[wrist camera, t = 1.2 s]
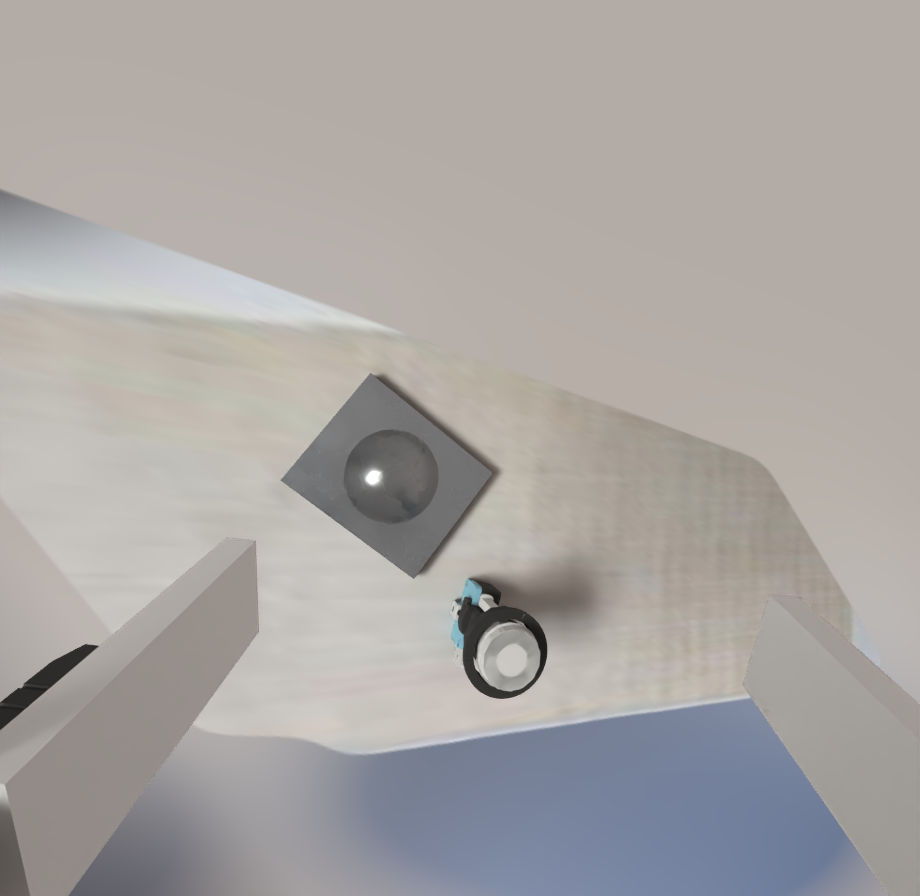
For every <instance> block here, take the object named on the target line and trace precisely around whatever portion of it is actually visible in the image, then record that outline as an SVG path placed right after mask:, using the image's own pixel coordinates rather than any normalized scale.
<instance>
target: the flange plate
mask: <svg viewBox="0 0 920 896" xmlns="http://www.w3.org/2000/svg"><path fill="white" fill-rule="evenodd" d="M491 475H492V472H491V471H490V470H489V469H487V468H486V467H485V466H484V465H483V464H481V463H480V462H479V461H478V460H476V459H475V458H474V457H473V456H472V455H470V454H469V453H468V452H467V451H465V450H464V449H463V448H462V447H460V446H459V445H458V444H457V443H456V442H454V441H453V440H452V439H451V438H449V437H448V436H447V435H446V434H445V433H443V432H442V431H441V430H440V429H438V428H437V427H436V426H435V425H434V424H432V423H431V422H430V421H429V420H427V419H426V418H425V417H424V416H423V415H421V414H420V413H419V412H418V411H416V410H415V409H414V408H413V407H411V406H410V405H409V404H408V403H407V402H405V401H404V400H403V399H402V398H400V397H399V396H398V395H397V394H396V393H394V392H393V391H392V390H391V389H389V388H388V387H387V386H386V385H385V384H383V383H382V382H381V381H380V380H378V379H377V378H376V377H375V376H374V375H372V374H371V373H370V374H369V376H368V377H367V378H366V379H365V380H364V382H363V383H362V384H361V385H360V386H359V388H358V389H357V390H356V391H355V392H354V394H353V395H352V396H351V397H350V398H349V399H348V401H347V402H346V403H345V404H344V405H343V407H342V408H341V409H340V410H339V411H338V413H337V414H336V415H335V416H334V417H333V419H332V420H331V421H330V422H329V423H328V425H327V426H326V427H325V428H324V429H323V430H322V432H321V433H320V434H319V435H318V436H317V438H316V439H315V440H314V441H313V442H312V444H311V445H310V446H309V447H308V448H307V450H306V451H305V452H304V453H303V454H302V456H301V457H300V458H299V459H298V460H297V461H296V463H295V464H294V465H293V466H292V467H291V469H290V470H289V471H288V472H287V473H286V475H285V476H284V477H283V478H282V479H281V481H282V482H284V483H285V484H286V485H288V486H289V487H290V488H292V489H293V490H294V491H296V492H297V493H299V494H300V495H301V496H303V497H304V498H305V499H307V500H308V501H309V502H311V503H312V504H313V505H315V506H316V507H317V508H319V509H320V510H321V511H323V512H324V513H326V514H327V515H328V516H330V517H331V518H332V519H334V520H335V521H336V522H338V523H339V524H340V525H342V526H343V527H344V528H346V529H347V530H348V531H350V532H351V533H353V534H354V535H355V536H357V537H358V538H359V539H361V540H362V541H363V542H365V543H366V544H367V545H369V546H370V547H371V548H373V549H374V550H375V551H377V552H378V553H380V554H381V555H382V556H384V557H385V558H386V559H388V560H389V561H390V562H392V563H393V564H394V565H396V566H397V567H398V568H400V569H401V570H403V571H404V572H405V573H407V574H408V575H409V576H411V577H412V578H413V579H414V578H415V577H416V575H417V574H418V573H419V571H420V570H421V569H422V567H423V566H424V565H425V563H426V562H427V561H428V559H429V558H430V557H431V555H432V554H433V552H434V551H435V550H436V548H437V547H438V546H439V544H440V543H441V542H442V540H443V539H444V538H445V536H446V535H447V534H448V532H449V531H450V530H451V528H452V527H453V526H454V524H455V523H456V522H457V520H458V519H459V518H460V516H461V515H462V514H463V512H464V511H465V509H466V508H467V507H468V505H469V504H470V503H471V501H472V500H473V499H474V497H475V496H476V495H477V493H478V492H479V491H480V489H481V488H482V487H483V485H484V484H485V483H486V481H487V480H488V479H489V477H490V476H491Z"/></svg>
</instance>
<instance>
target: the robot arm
mask: <svg viewBox="0 0 920 896" xmlns="http://www.w3.org/2000/svg"><path fill="white" fill-rule="evenodd" d="M258 632H259V621H258V592H257V563H256V541H254V540H244V539H235V538H226V539H225V540H223V541H222V542H221V543H220V544H219V545H218V546H216V547H215V548H214V549H213V550H212V551H210V552H209V553H208V554H207V555H206V556H205V557H203V558H202V559H201V560H200V561H199V562H198V563H196V564H195V565H194V566H193V567H192V568H190V569H189V570H188V571H187V572H186V573H185V574H183V575H182V576H181V577H180V578H179V579H178V580H176V581H175V582H174V583H173V584H172V585H171V586H169V587H168V588H167V589H166V590H165V591H163V592H162V593H161V594H160V595H159V596H158V597H156V598H155V599H154V600H153V601H152V602H151V603H149V604H148V605H147V606H146V607H145V608H143V609H142V610H141V611H140V612H139V613H138V614H136V615H135V616H134V617H133V618H132V619H131V620H129V621H128V622H127V623H126V624H125V625H124V626H122V627H121V628H120V629H119V630H118V631H116V632H115V633H114V634H113V635H112V636H111V637H110V638H108V639H107V640H106V641H105V642H104V643H102V644H101V645H100V646H95V645H87V644H85V645H83V646H81V647H79V648H77V649H75V650H73V651H71V652H69V653H68V654H66V655H64V656H62V657H60V658H58V659H56V660H54V661H52V662H51V663H49V664H48V665H47V666H46V667H44V668H43V669H42V670H41V671H39V672H38V673H37V674H35V675H34V676H33V677H32V678H30V679H29V680H28V681H27V682H25V683H24V686H23V687H22V688H18V689H17V690H15V691H14V692H13V693H12V694H10V695H9V696H8V697H7V698H5V699H4V700H3V701H2V702H0V896H68V895H69V893H70V892H71V891H72V889H73V888H74V887H75V885H76V884H77V883H78V881H79V880H80V878H81V877H82V876H83V874H84V873H85V872H86V870H87V869H88V867H89V866H90V864H91V863H92V862H93V860H94V859H95V858H96V856H97V855H98V853H99V852H100V851H101V849H102V848H103V847H104V845H105V844H106V842H107V841H108V840H109V838H110V837H111V836H112V834H113V833H114V831H115V830H116V829H117V827H118V826H119V824H120V823H121V822H122V820H123V819H124V817H125V816H126V815H127V813H128V812H129V811H130V809H131V808H132V806H133V805H134V804H135V802H136V801H137V800H138V798H139V797H140V795H141V794H142V793H143V791H144V790H145V788H146V787H147V786H148V784H149V783H150V782H151V780H152V779H153V777H154V776H155V775H156V773H157V772H158V770H159V769H160V768H161V766H162V765H163V763H164V762H165V761H166V759H167V758H168V757H169V755H170V754H171V752H172V751H173V750H174V748H175V747H176V746H177V744H178V743H179V741H180V740H181V739H182V737H183V736H184V735H185V733H186V732H187V730H188V729H189V728H190V726H191V725H192V723H193V722H194V721H195V719H196V718H197V717H198V715H199V714H200V712H201V711H202V710H203V708H204V707H205V705H206V704H207V703H208V701H209V700H210V699H211V697H212V696H213V694H214V693H215V692H216V690H217V689H218V687H219V686H220V685H221V683H222V682H223V681H224V679H225V678H226V676H227V675H228V674H229V672H230V671H231V669H232V668H233V667H234V665H235V664H236V663H237V661H238V660H239V658H240V657H241V656H242V654H243V653H244V651H245V650H246V649H247V647H248V646H249V645H250V643H251V642H252V640H253V639H254V638H255V636H256V635H257V633H258ZM742 685H743V686H744V688H745V689H746V691H747V692H748V694H749V695H750V697H751V698H752V699H753V701H754V702H755V704H756V705H757V707H758V708H759V709H760V711H761V712H762V714H763V715H764V717H765V718H766V720H767V721H768V722H769V724H770V725H771V727H772V728H773V730H774V731H775V733H776V734H777V735H778V737H779V738H780V740H781V741H782V742H783V744H784V745H785V747H786V748H787V750H788V751H789V753H790V754H791V755H792V757H793V758H794V760H795V761H796V763H797V764H798V766H799V767H800V769H801V770H802V771H803V773H804V774H805V776H806V777H807V779H808V780H809V781H810V783H811V784H812V786H813V787H814V788H815V790H816V792H817V793H818V794H819V796H820V797H821V799H822V800H823V802H824V803H825V804H826V806H827V807H828V809H829V810H830V812H831V813H832V815H833V816H834V817H835V819H836V820H837V822H838V823H839V825H840V826H841V828H842V829H843V830H844V832H845V833H846V835H847V836H848V838H849V839H850V840H851V842H852V843H853V845H854V846H855V848H856V849H857V851H858V852H859V853H860V855H861V856H862V858H863V859H864V861H865V862H866V863H867V865H868V866H869V868H870V869H871V870H872V872H873V873H874V875H875V876H876V878H877V879H878V881H879V882H880V884H881V885H882V887H883V888H884V889H885V891H886V892H887V894H888V895H889V896H920V704H919V703H918V702H917V701H915V700H914V699H913V698H912V697H911V696H910V695H909V694H908V693H906V692H905V691H904V690H903V689H902V688H901V687H900V686H899V685H898V684H896V683H895V682H894V681H893V680H892V679H891V678H890V677H889V676H887V675H886V674H885V673H884V672H883V671H882V670H881V669H880V668H879V667H877V666H876V665H875V664H874V663H873V662H872V661H871V660H870V659H869V658H867V657H866V656H865V655H864V654H863V653H862V652H861V651H860V650H858V649H857V648H856V647H855V646H854V645H853V644H852V643H851V642H850V641H848V640H847V639H846V638H845V637H844V636H843V635H842V634H841V633H839V632H838V631H837V630H836V629H835V628H834V627H833V626H832V625H831V624H829V623H828V622H827V621H826V620H825V619H824V618H823V617H822V616H820V615H819V614H818V613H817V612H816V611H815V610H814V609H813V608H812V607H810V606H809V605H808V604H807V603H806V602H805V601H804V600H803V599H801V598H799V597H789V596H780V595H769V598H768V601H767V605H766V608H765V611H764V615H763V618H762V621H761V625H760V628H759V631H758V635H757V638H756V641H755V645H754V648H753V651H752V655H751V658H750V661H749V665H748V668H747V671H746V674H745V678H744V681H743V684H742Z"/></svg>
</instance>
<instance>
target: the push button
mask: <svg viewBox="0 0 920 896" xmlns="http://www.w3.org/2000/svg"><path fill="white" fill-rule="evenodd" d="M500 597H501V592H500V591H499V590H497V589H496V588H495V587H494V586H492V585H490V584H486V583H482V582H478V581H474V580H470V579H467V580H466V583H465V588H464V592H463V595H462V598H461V602H460V605H458V604H457V602H456V601H455V600H454V601H453V603H452V606H451V610H450V615H451V616H452V617H453V619H455V623H454V626H453V630H452V634H451V638H452V640H453V641H454V643H455V647H454V648H456V651H455V654H454V658H453V663H456V665H455V666H456V668H461V669H465V672H466V674H467V676H468V678H469V680H470V681H471V683H472V684H473V685H474V687H475V688H476V689H477V690H479V691H480V692H481V693H483V694H485V695H487V696H489V697H493V698H498V699H505V698H512V697H515V696H517V695H520V694H522V693H523V692H525V691H526V690H528V689H529V688H530V687H531V686H532V685H533V684H534V683H535V682H536V681H537V680H538V678H539V677H540V675H541V673H542V671H543V669H544V666H545V663H546V658H547V642H546V637H545V634H544V632H543V630H542V628H541V626H540V625H539V623H538V622H537V621H536V620H535V619H534V618H533V617H532V616H530V615H529V614H527V613H526V612H524V611H522V610H519V609H516V608H508V607H506V606H501V607H499V606H498V604H499V600H500ZM453 607H454V610H453ZM513 619H515V620H518V621H521V622H523V623H524V625H525V626H526V627H525V626H523V625H521V624H518V623H517V622H516V621H515V620H513ZM457 655H458V658H456V657H457ZM473 656H474V658H475V660H476V661H477V665H478V669H479V672H478V671H477V670H476V669H475V666H474V660H473ZM462 663H463V664H462Z"/></svg>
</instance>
